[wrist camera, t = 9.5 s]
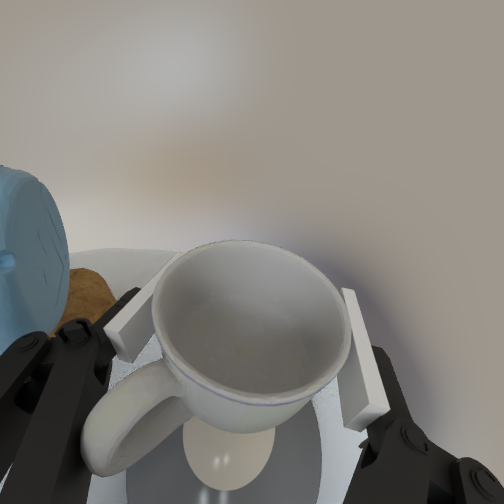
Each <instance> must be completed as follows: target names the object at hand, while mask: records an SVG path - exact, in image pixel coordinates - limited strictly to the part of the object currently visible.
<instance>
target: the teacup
mask: <svg viewBox="0 0 504 504" xmlns="http://www.w3.org/2000/svg"><path fill="white" fill-rule="evenodd" d="M151 315H152V322H153V327H154V330H155V333H156V336H157V338H158V341H159V344H160V346H161V350H162V355H163V358H162V359H160V360H158V361H155V362H152V363H150V364H147V365H145V366H143V367H141V368H139V369H138V370H136V371H134V372H132V373H131V374H129V375H128V376H127V377H125V378H124V379H122V380H121V381H120V382H118V383H117V384H116V385H115V386H114V387H113V388H112V389H110V390H109V391H108V392H107V393H106V394H105V395H104V396H103V397H102V398H101V399H100V401H99V402H98V403H97V404H96V406H95V407H94V408H93V410H92V411H91V412H90V414H89V415H88V417H87V419H86V421H85V423H84V425H83V427H82V431H81V436H80V453H81V456H82V459H83V461H84V462H85V464H86V465H87V467H88V469H89V470H90V472H91V473H92V474H95V475H97V476H100V477H107V476H112V475H115V474H117V473H119V472H121V471H123V470H124V469H126V468H128V467H130V466H131V465H133V464H134V463H135V462H137V461H138V460H140V459H141V458H142V457H144V456H145V455H146V454H147V453H149V452H150V451H151V450H153V449H154V448H155V447H156V446H157V445H158V444H160V443H161V442H162V441H163V440H164V439H165V438H166V437H168V436H169V435H170V434H171V433H172V432H173V431H174V430H176V429H177V428H178V427H179V426H180V425H182V424H183V423H185V422H187V421H189V420H190V419H191V418H192V417H193V416H196V417H198V418H199V419H200V420H202V421H204V422H205V423H207V424H209V425H211V426H213V427H215V428H217V429H220V430H223V431H226V432H231V433H239V434H250V433H257V432H261V431H266V430H268V429H271V428H274V427H276V426H278V425H280V424H281V423H283V422H285V421H287V420H288V419H289V418H290V417H292V416H293V415H294V414H296V413H297V412H298V411H299V410H300V409H301V408H302V407H303V406H305V405H306V404H307V403H308V402H309V401H310V399H311V398H312V397H313V396H314V395H315V394H316V393H317V392H319V391H320V390H321V389H322V388H324V387H325V386H326V385H328V384H329V383H330V382H331V381H332V380H333V379H334V378H335V376H336V375H337V374H338V372H339V371H340V369H341V368H342V367H343V365H344V363H345V361H346V360H347V357H348V354H349V350H350V346H351V335H352V330H351V322H350V317H349V313H348V310H347V307H346V304H345V302H344V300H343V299H342V297H341V295H340V293H339V292H338V290H337V289H336V288H335V286H334V285H333V284H332V283H331V281H330V280H329V279H328V278H327V277H326V276H325V275H324V274H323V273H322V272H320V271H319V270H318V269H317V268H316V267H315V266H313V265H312V264H310V263H309V262H308V261H306V260H305V259H303V258H302V257H301V256H298V255H296V254H294V253H292V252H290V251H288V250H286V249H283V248H281V247H277V246H274V245H271V244H267V243H262V242H256V241H247V240H228V241H220V242H213V243H209V244H207V245H202V246H200V247H197V248H195V249H193V250H191V251H188V252H187V253H186V254H184V255H182V256H181V257H179V258H177V259H176V260H175V261H174V262H173V263H172V264H171V265H170V266H169V267H168V268H167V269H166V270H165V271H164V273H163V274H162V276H161V278H160V279H159V281H158V282H157V285H156V287H155V290H154V293H153V299H152V303H151Z"/></svg>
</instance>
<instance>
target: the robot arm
mask: <svg viewBox="0 0 504 504" xmlns="http://www.w3.org/2000/svg"><path fill="white" fill-rule="evenodd" d="M184 254H186V253H181V252H177V253H176V254H175V255H174V256H173V257H172V259H171V260H170V261H169V262H168V263H167V264H166V265H165V266H164V267H163V268H162V269H161V270H160V271H159V272H158V273H157V274H156V275H155V276H154V277H153V278H152V279H151V280H150V281H149V282H148V283H147V284H146V285H145V286H144V287H143V288H142V289H141V288H137V287H135V288H133V289H132V290H130V291H128V292H126V293H125V294H124V295H123V296H122V297H121V298H120V300H118V301H117V302H116V303H115V304H114V306H112V307H111V308H110V309H109V310H107V311H106V312H105V313H104V314H103V315H102V316H101V317H100V318H99V319H98V320H97V321H96V322H95V323H94V324H93V325H92V323H91V322H90V321H89V319H86V318H76V319H73V320H70V321H68V322H66V323H64V324H63V325H62V326H60V327H59V328H58V329H57V330H56V332H55V333H54V334H55V336H56V337H49V336H48V335H49V334H50V332H52V331H53V330H54V329H55V328H56V326H57V325H58V323H59V321H60V319H61V317H62V315H63V313H64V310H65V306H66V303H67V298H68V291H69V279H70V268H69V253H68V246H67V240H66V234H65V230H64V226H63V223H62V220H61V216H60V213H59V211H58V208H57V206H56V204H55V201H54V199H53V198H52V195H51V194H50V192H49V191H48V189H47V188H46V187H45V185H44V184H42V183H41V182H39V181H38V179H37V178H36V177H34V176H33V175H31V174H30V173H28V172H25V171H21V170H15V169H11V168H8V167H4V166H3V165H0V483H1V481H2V479H3V478H4V476H5V474H6V473H7V471H8V469H9V468H10V466H11V464H12V463H13V464H12V466H11V468H10V471H9V473H8V476H7V478H6V480H5V483H4V485H3V488H2V490H1V492H0V504H86V502H87V497H88V491H89V486H90V481H91V475H92V473H91V472H90V470H89V469H88V467H87V465H86V464H85V462H84V461H83V459H82V456H81V453H80V436H81V431H82V427H83V425H84V423H85V421H86V419H87V417H88V415H89V414H90V412H91V411H92V410H93V408H94V407H95V406H96V404H97V403H98V402H99V401H100V399H101V398H102V397H103V396H104V395H105V394H106V393H107V391H108V386H109V380H110V375H111V370H112V359H113V358H114V356H115V355H116V354H117V356H118V358H119V360H122V361H126V362H129V363H133V362H134V360H135V359H136V358H137V356H138V355H139V353H140V352H141V351H142V349H143V348H144V346H145V345H146V344H147V342H148V341H149V339H150V338H151V337H152V335H153V334H154V332H155V330H154V327H153V322H152V315H151V303H152V299H153V293H154V290H155V287H156V285H157V282H158V281H159V279H160V278H161V276H162V274H163V273H164V271H165V270H166V269H167V268H168V267H169V266H170V265H171V264H172V263H173V262H174V261H175V260H176V259H177V258H179V257H181V256H182V255H184ZM340 295H341V297H342V299H343V300H344V302H345V304H346V307H347V310H348V313H349V317H350V322H351V330H352V335H351V346H350V350H349V354H348V357H347V360H346V361H345V363H344V365H343V367H342V368H341V369H340V371H339V372H338V374H337V380H338V388H339V395H340V403H341V410H342V418H343V425H344V427H345V428H349V429H352V430H355V431H358V432H362V431H363V430H364V429H367V433H368V438H367V439H366V440H364V441H363V442H361V444H360V445H359V446H358V447H359V448H360V449H361V448H363V450H362V452H361V455H360V458H359V460H358V463H357V466H356V469H355V471H354V474H353V477H352V480H351V482H350V485H349V488H348V491H347V493H346V496H345V499H344V502H343V504H504V488H503V487H502V485H501V484H500V482H499V481H498V479H497V478H496V477H495V476H494V475H493V474H492V473H491V472H490V471H489V470H488V469H487V468H486V467H485V466H484V465H482V464H481V463H479V462H478V461H477V460H474V459H472V458H469V457H464V458H460V459H458V458H456V457H454V456H453V455H451V454H450V453H448V452H446V451H445V450H443V449H442V448H440V447H438V446H437V445H435V444H434V443H433V442H431V441H430V440H428V438H427V437H426V435H425V434H424V432H423V431H422V430H421V429H420V428H419V427H418V426H417V425H416V424H415V423H414V422H413V420H412V417H411V415H410V413H409V410H408V407H407V404H406V402H405V399H404V396H403V394H402V391H401V388H400V386H399V383H398V381H397V377H396V375H395V372H394V371H393V366H392V364H391V361H390V358H389V357H388V356H387V354H386V353H385V352H384V350H383V349H382V348H380V347H375V346H371V344H370V341H369V338H368V335H367V332H366V328H365V325H364V321H363V318H362V315H361V312H360V309H359V305H358V302H357V299H356V295H355V292H354V290H350V289H346V288H342V289H341V291H340Z"/></svg>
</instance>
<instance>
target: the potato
mask: <svg viewBox="0 0 504 504" xmlns="http://www.w3.org/2000/svg"><path fill="white" fill-rule="evenodd" d="M115 303H116V300H115V298H114V296H113V294H112V292H111V290H110V289H109V287H108V285H107V283H106V282H105V280H104V279H103V278H102V277H101V276H100V275H99V274H98V273H96V272H94V271H91V270H88V269H85V268H79V269H71V270H70V279H69V291H68V298H67V303H66V306H65V310H64V313H63V315H62V317H61V319H60V321H59V323H58V325H57V326H56V328H55V329H54V330H53V331H52V332H50V334H49V335H48V336H49V337H56V336H55V334H54V333H55V332H56V330H57V329H58V328H59V327H60V326H62V325H63V324H64V323H66V322H68V321H70V320H73V319H76V318H86V319H89V321H90V322H91V323H92V325H93V324H94V323H95V322H96V321H97V320H98V319H99V318H100V317H101V316H102V315H103V314H104V313H105V312H106V311H107V310H109V309H110V308H111V307H112V306H114V304H115Z"/></svg>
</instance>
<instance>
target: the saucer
mask: <svg viewBox="0 0 504 504" xmlns="http://www.w3.org/2000/svg"><path fill="white" fill-rule="evenodd" d="M321 463H322V453H321V439H320V433H319V427H318V422H317V418H316V414H315V410H314V407H313V405H312V402H311V399H310V401H309V402H308V403H307V404H306V405H305V406H303V407H302V408H301V409H300V410H299V411H298V412H297V413H296V414H294V415H293V416H292V417H290V418H289V419H288V420H287V421H285V422H283V423H281V424H280V425H278V426H276V427H274V428H271V429H268V430H266V431H261V432H257V433H250V434H239V433H231V432H226V431H223V430H220V429H217V428H215V427H213V426H211V425H209V424H207V423H205V422H204V421H202V420H200V419H199V418H198V417H196V416H193V417H192V418H191V419H190V420H189V421H187V422H185V423H183V424H182V425H180V426H179V427H178V428H177V429H176V430H174V431H173V432H172V433H171V434H170V435H169V436H168V437H166V438H165V439H164V440H163V441H162V442H161V443H160V444H158V445H157V446H156V447H155V448H154V449H153V450H151V451H150V452H149V453H147V454H146V455H145V456H144V457H142V458H141V459H140V460H138V461H137V462H135V463H134V464H133V465H131V466H130V467H128V468H127V470H126V491H127V500H128V504H316V502H317V497H318V493H319V487H320V479H321Z"/></svg>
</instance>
